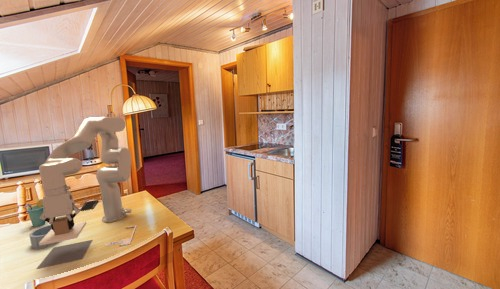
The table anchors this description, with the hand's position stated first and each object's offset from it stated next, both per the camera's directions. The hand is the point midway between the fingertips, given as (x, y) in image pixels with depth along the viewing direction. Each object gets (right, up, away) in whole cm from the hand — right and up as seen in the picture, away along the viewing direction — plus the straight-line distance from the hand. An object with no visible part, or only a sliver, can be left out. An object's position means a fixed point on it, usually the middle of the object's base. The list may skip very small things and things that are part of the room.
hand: (63, 228), depth 102 cm
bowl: (-17, -11, +12) cm, 24 cm away
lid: (0, -2, 0) cm, 2 cm away
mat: (0, -12, +1) cm, 12 cm away
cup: (-39, -9, +30) cm, 49 cm away
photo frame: (+16, -10, +14) cm, 23 cm away
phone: (-27, -5, +55) cm, 61 cm away
